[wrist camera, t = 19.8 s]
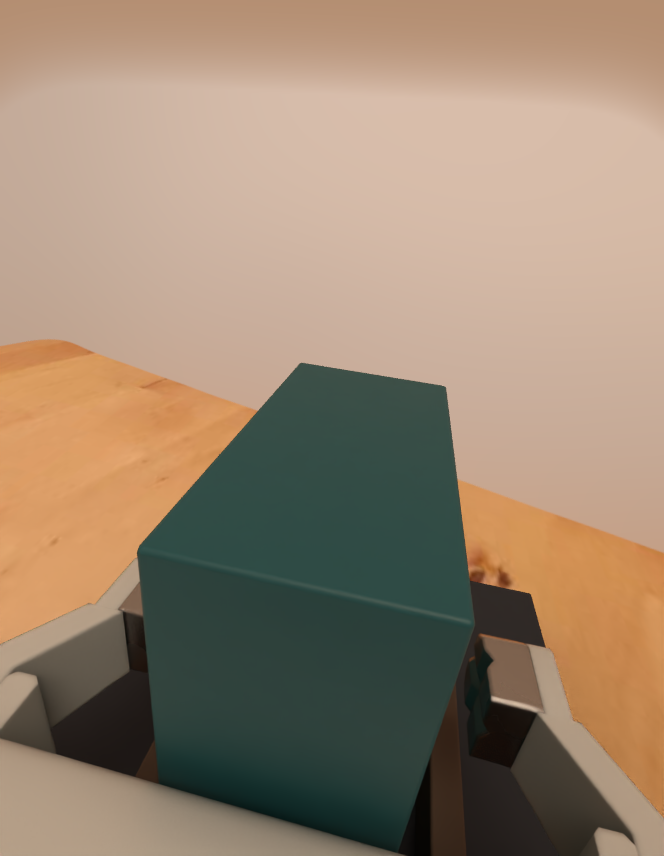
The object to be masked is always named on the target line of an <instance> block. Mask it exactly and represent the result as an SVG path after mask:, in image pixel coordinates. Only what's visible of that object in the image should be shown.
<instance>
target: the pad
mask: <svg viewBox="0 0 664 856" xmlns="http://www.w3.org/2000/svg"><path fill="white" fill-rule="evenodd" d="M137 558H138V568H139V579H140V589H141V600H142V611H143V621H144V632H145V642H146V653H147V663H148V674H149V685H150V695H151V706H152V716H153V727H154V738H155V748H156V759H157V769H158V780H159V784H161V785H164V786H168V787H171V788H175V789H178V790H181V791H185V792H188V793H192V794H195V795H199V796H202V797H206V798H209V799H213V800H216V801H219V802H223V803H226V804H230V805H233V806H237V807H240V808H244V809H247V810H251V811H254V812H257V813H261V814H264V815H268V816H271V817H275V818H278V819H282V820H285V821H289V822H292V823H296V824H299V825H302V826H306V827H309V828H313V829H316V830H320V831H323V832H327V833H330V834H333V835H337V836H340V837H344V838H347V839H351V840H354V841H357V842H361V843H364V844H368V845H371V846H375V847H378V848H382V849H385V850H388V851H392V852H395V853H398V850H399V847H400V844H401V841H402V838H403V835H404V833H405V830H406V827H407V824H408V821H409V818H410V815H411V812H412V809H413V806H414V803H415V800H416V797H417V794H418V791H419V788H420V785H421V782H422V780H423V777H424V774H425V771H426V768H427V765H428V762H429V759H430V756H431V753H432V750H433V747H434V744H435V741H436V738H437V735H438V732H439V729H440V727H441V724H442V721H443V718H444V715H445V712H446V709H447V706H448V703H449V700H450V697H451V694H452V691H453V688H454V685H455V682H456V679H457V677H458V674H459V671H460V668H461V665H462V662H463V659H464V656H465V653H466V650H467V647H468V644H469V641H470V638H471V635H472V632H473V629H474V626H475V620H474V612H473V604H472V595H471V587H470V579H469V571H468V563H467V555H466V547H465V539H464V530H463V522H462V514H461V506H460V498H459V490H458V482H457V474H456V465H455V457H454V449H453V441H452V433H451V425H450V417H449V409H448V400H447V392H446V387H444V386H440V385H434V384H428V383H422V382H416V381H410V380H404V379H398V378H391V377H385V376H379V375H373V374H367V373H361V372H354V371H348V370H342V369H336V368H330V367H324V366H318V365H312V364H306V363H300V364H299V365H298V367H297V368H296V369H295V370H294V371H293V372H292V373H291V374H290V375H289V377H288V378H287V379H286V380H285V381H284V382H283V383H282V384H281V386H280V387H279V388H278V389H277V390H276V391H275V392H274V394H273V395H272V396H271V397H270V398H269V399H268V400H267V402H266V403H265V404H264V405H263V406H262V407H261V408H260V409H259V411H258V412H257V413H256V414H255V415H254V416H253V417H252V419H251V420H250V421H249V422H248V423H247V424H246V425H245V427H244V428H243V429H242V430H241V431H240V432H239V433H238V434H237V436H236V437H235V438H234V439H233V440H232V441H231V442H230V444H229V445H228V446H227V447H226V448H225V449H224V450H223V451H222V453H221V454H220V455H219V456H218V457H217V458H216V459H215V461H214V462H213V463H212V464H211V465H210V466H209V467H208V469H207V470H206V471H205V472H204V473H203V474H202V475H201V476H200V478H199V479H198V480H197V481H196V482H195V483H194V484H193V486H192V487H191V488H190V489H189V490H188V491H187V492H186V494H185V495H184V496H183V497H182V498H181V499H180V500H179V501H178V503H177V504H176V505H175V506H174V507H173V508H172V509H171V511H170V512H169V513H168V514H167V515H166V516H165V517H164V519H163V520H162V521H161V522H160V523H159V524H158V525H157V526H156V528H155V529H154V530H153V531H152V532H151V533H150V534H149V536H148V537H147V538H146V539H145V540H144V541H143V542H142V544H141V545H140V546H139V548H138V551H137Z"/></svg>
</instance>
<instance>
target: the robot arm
mask: <svg viewBox="0 0 664 856" xmlns="http://www.w3.org/2000/svg"><path fill="white" fill-rule="evenodd" d="M474 651H475V656H473V657H471V658H470V659H469V661H468V664H467V667H466V672H465V679H464V701H465V705H466V706H467V708H468V709H469V711H470V715H469V718H468V721H467V723H466V727H467V738H468V749H469V756H471V757H475V758H478V759H482V760H485V761H488V762H492V763H495V764H499V765H502V766H506V767H509V768H511V769H510V771H511V772H512V774H513V776H514V778H515V779H516V781H517V783H518V785H519V786H520V788H521V790H522V792H523V793H524V795H525V797H526V799H527V800H528V802H529V804H530V806H531V807H532V809H533V811H534V813H535V814H536V816H537V818H538V819H539V821H540V823H541V825H542V826H543V828H544V830H545V832H546V833H547V835H548V837H549V839H550V840H551V842H552V844H553V846H554V847H555V849H556V851H557V853H558V854H559V856H664V818H663V817H662V816H661V814H660V813H659V812H658V811H657V810H656V809H655V808H654V806H653V805H652V804H651V803H650V802H649V801H648V799H647V798H646V797H645V796H644V795H643V794H642V793H641V791H640V790H639V789H638V788H637V787H636V786H635V784H634V783H633V782H632V781H631V780H630V779H629V778H628V776H627V775H626V774H625V773H624V772H623V771H622V769H621V768H620V767H619V766H618V765H617V764H616V763H615V761H614V760H613V759H612V758H611V757H610V756H609V755H608V753H607V752H606V751H605V750H604V749H603V748H602V746H601V745H600V744H599V743H598V742H597V741H596V740H595V738H594V737H593V736H592V735H591V734H590V733H589V731H588V730H587V729H586V728H585V727H584V726H583V725H582V723H579V722H576V721H573V717H572V714H571V711H570V707H569V704H568V701H567V698H566V694H565V691H564V688H563V684H562V681H561V678H560V674H559V671H558V668H557V664H556V661H555V658H554V654H553V652H552V651H551V650H550V649H549V648H545V647H540V646H535V645H531V644H524V643H522V642H517V641H513V640H508V639H503V638H499V637H494V636H490V635H485V634H479V635H478V636H477V638H476V641H475V643H474ZM130 669H131V670H136V671H140V672H145V673H148V663H147V653H146V642H145V632H144V621H143V611H142V600H141V589H140V579H139V568H138V558H135V559H134V560H133V561H132V562H131V563H130V564H129V566H128V567H127V568H126V569H125V570H124V571H123V572H122V574H121V575H120V576H119V577H118V578H117V579H116V581H115V582H114V583H113V584H112V585H111V586H110V587H109V589H108V590H107V591H106V592H105V593H104V594H103V595H102V597H101V598H100V599H99V600H98V601H97V602H96V604H90V603H88V604H86V605H84V606H82V607H80V608H77V609H75V610H73V611H71V612H69V613H67V614H64V615H62V616H60V617H58V618H56V619H54V620H51V621H49V622H47V623H45V624H43V625H41V626H39V627H36V628H34V629H32V630H30V631H28V632H26V633H23V634H21V635H19V636H17V637H15V638H13V639H10V640H8V641H6V642H4V643H2V644H0V856H406V855H402V854H399V853H395V852H392V851H388V850H385V849H382V848H378V847H375V846H371V845H368V844H364V843H361V842H357V841H354V840H351V839H347V838H344V837H340V836H337V835H333V834H330V833H327V832H323V831H320V830H316V829H313V828H309V827H306V826H302V825H299V824H296V823H292V822H289V821H285V820H282V819H278V818H275V817H271V816H268V815H264V814H261V813H257V812H254V811H251V810H247V809H244V808H240V807H237V806H233V805H230V804H226V803H223V802H219V801H216V800H213V799H209V798H206V797H202V796H199V795H195V794H192V793H188V792H185V791H181V790H178V789H175V788H171V787H168V786H164V785H161V784H157V783H154V782H150V781H147V780H143V779H140V778H137V777H133V776H130V775H126V774H123V773H119V772H116V771H112V770H109V769H106V768H102V767H99V766H95V765H92V764H88V763H85V762H81V761H78V760H75V759H71V758H68V757H64V756H61V755H57V754H56V748H55V744H54V741H53V737H52V733H51V728H52V727H53V726H55V725H56V724H58V723H59V722H60V721H62V720H63V719H65V718H66V717H67V716H69V715H70V714H72V713H73V712H74V711H76V710H77V709H78V708H80V707H81V706H83V705H84V704H85V703H87V702H88V701H90V700H91V699H92V698H94V697H95V696H97V695H98V694H99V693H101V692H102V691H103V690H105V689H106V688H108V687H109V686H110V685H112V684H113V683H115V682H116V681H117V680H119V679H120V678H122V677H123V676H124V675H126V674H127V673H128V672H130Z"/></svg>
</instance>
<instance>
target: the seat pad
mask: <svg viewBox="0 0 664 856" xmlns="http://www.w3.org/2000/svg"><path fill="white" fill-rule="evenodd" d="M470 587H471V595H472V604H473V612H474V620H475V626H474V629H473V632H472V635H471V638H470V641H469V644H468V647H467V650H466V653H465V656H464V659H463V662H462V665H461V668H460V671H459V674H458V677H457V679H456V682H455V685H454V688H453V691H452V694H451V697H450V700H449V703H448V706H447V709H446V712H445V715H444V718H443V721H442V724H441V727H440V729H439V732H438V735H437V738H436V741H435V744H434V747H433V750H432V753H431V756H430V759H429V762H428V765H427V768H426V771H425V774H424V777H423V780H422V782H421V785H420V788H419V791H418V794H417V797H416V800H415V803H414V806H413V809H412V812H411V815H410V818H409V821H408V824H407V827H406V830H405V833H404V835H403V838H402V841H401V844H400V847H399V850H398V853H399V854H402V855H406V856H559V854H558V853H557V851H556V849H555V847H554V846H553V844H552V842H551V840H550V839H549V837H548V835H547V833H546V832H545V830H544V828H543V826H542V825H541V823H540V821H539V819H538V818H537V816H536V814H535V813H534V811H533V809H532V807H531V806H530V804H529V802H528V800H527V799H526V797H525V795H524V793H523V792H522V790H521V788H520V786H519V785H518V783H517V781H516V779H515V778H514V776H513V774H512V772H511V771H510V769H511V768H509V767H506V766H502V765H499V764H495V763H492V762H488V761H485V760H482V759H478V758H475V757H471V756H469V749H468V738H467V727H466V723H467V721H468V718H469V715H470V711H469V709H468V708H467V706H466V705H465V701H464V679H465V672H466V667H467V664H468V661H469V659H470V658H471V657H473V656H475V651H474V643H475V641H476V638H477V636H478V635H479V634H485V635H490V636H494V637H499V638H503V639H508V640H513V641H517V642H522V643H524V644H531V645H535V646H540V647H545V644H544V640H543V637H542V633H541V629H540V626H539V622H538V619H537V615H536V612H535V608H534V604H533V601H532V597H531V594H529V593H524V592H520V591H515V590H510V589H506V588H501V587H496V586H492V585H487V584H482V583H478V582H473V581H470ZM545 648H546V647H545ZM51 733H52V737H53V741H54V744H55V748H56V754H57V755H61V756H64V757H68V758H71V759H75V760H78V761H81V762H85V763H88V764H92V765H95V766H99V767H102V768H106V769H109V770H112V771H116V772H119V773H123V774H126V775H130V776H133V777H137V778H140V779H143V780H147V781H150V782H154V783H157V784H159V780H158V769H157V759H156V748H155V738H154V727H153V716H152V706H151V695H150V685H149V674H148V673H145V672H140V671H136V670H131V669H130V672H128V673H127V674H126V675H124V676H123V677H122V678H120V679H119V680H117V681H116V682H115V683H113V684H112V685H110V686H109V687H108V688H106V689H105V690H103V691H102V692H101V693H99V694H98V695H97V696H95V697H94V698H92V699H91V700H90V701H88V702H87V703H85V704H84V705H83V706H81V707H80V708H78V709H77V710H76V711H74V712H73V713H72V714H70V715H69V716H67V717H66V718H65V719H63V720H62V721H60V722H59V723H58V724H56V725H55V726H53V727H52V728H51Z"/></svg>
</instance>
